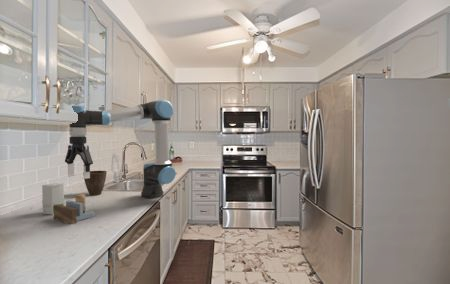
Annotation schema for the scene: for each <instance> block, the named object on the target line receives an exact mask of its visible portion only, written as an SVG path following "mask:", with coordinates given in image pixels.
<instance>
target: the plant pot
mask: <svg viewBox="0 0 450 284" xmlns="http://www.w3.org/2000/svg"><path fill="white" fill-rule="evenodd" d="M107 172H108V171H106V170H90V178H87V179H84V178H83V179H84V185H85V188H86V190H87V193H88V195H89V196H99V195H102V192H103V191H104V186H105V184H106V179H107ZM82 174H83V176H84V171H83V172H82Z"/></svg>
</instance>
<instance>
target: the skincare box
mask: <svg viewBox="0 0 450 284" xmlns="http://www.w3.org/2000/svg"><path fill="white" fill-rule="evenodd" d="M64 188H65V184H64V183H63V182H53V183H47V184H42V186H41V190H42V191H41V192H42V194H41V196H42V214H43V215H54V205H56V204H59V205H63V206H65V193H64V192H65V191H64Z"/></svg>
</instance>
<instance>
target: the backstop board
mask: <svg viewBox="0 0 450 284" xmlns="http://www.w3.org/2000/svg"><path fill="white" fill-rule="evenodd" d="M53 220H56V221H58V222H59V221H60V222H64V223H66V224H70V225H74V224H77V222H78V221H76V208H72V207H67V206H66V205H64V206H63V205H59V204H56V205H54V214H53Z"/></svg>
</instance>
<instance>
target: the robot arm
mask: <svg viewBox="0 0 450 284" xmlns="http://www.w3.org/2000/svg"><path fill="white" fill-rule="evenodd" d="M71 106H72V108H73V110H74V112H76V113H77V114H78V121H77V122H76V123H72V124H69V126H68V127H69V130H68V131H69V145H68V146H67V153H66V156H65V159H64V163H66V164H67V176H68V177H75V163H74V161H75V159H76V157H77V156H78V155H79V157H80V159H81V161H82V162H83V172H84V175H83V179H87V178H90V171H91V165H93V164H94V161H93V159H92V155H91V152H90V147H89V145H85V144H87V127H90V126H108V125H109V124H111V123H116V122H121V121H128V120H135V119H139V120H147V119H148V120H151V121H152V123H153V124H154V139H155V162H148V163H144V164H143V169H142V170H143V186H142V190H141V192H140V197H141V198H144V199H157V198H162V197H163V196H164V195H165V194H164V193H165V192H164V190H163V186H162V185H168V184H169V185H170V184H171V183H172V182H173V181H174V180H175V178H176V174H177V172H176V169H175V168H174V167H173V162H172V161H171V160H170V138H169V135H170V134H169V133H170V132H169V123H170V122H171V117H173V115H174V107H173V105H172V103H171V102H170V101H168V100H166V99H159V100H155V101H154V100H152V101H149V102H146V103H143V104H137V105H136V106H132V107H131V106H130V107H123V108H115V109H105V110H87V107H86V106H85V105H71Z"/></svg>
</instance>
